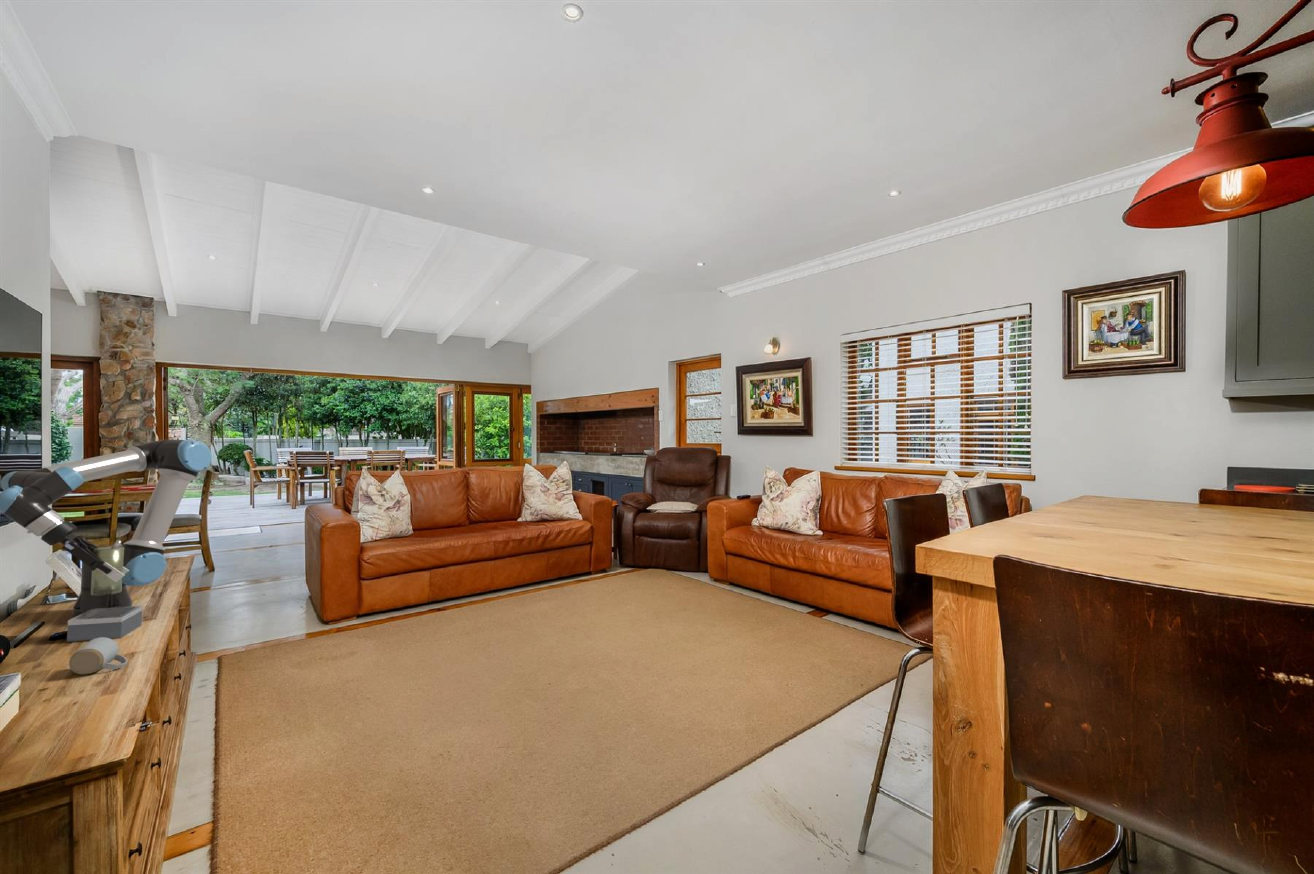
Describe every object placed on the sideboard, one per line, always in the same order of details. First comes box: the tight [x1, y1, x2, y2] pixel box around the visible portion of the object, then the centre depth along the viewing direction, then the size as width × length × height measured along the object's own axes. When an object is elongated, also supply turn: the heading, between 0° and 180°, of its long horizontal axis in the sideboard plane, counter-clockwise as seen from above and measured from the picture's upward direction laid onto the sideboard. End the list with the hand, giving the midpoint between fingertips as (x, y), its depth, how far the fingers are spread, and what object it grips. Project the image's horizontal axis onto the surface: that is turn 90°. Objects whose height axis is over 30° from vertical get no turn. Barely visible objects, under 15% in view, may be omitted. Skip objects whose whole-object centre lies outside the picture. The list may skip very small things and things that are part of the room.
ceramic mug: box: [68, 637, 128, 676], centre depth 150 cm, size 11×8×8 cm
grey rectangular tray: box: [66, 605, 143, 643], centre depth 178 cm, size 16×13×6 cm
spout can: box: [91, 540, 124, 596], centre depth 177 cm, size 7×7×16 cm
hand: (122, 576), depth 179 cm, fingers closed on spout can, 7 cm apart
